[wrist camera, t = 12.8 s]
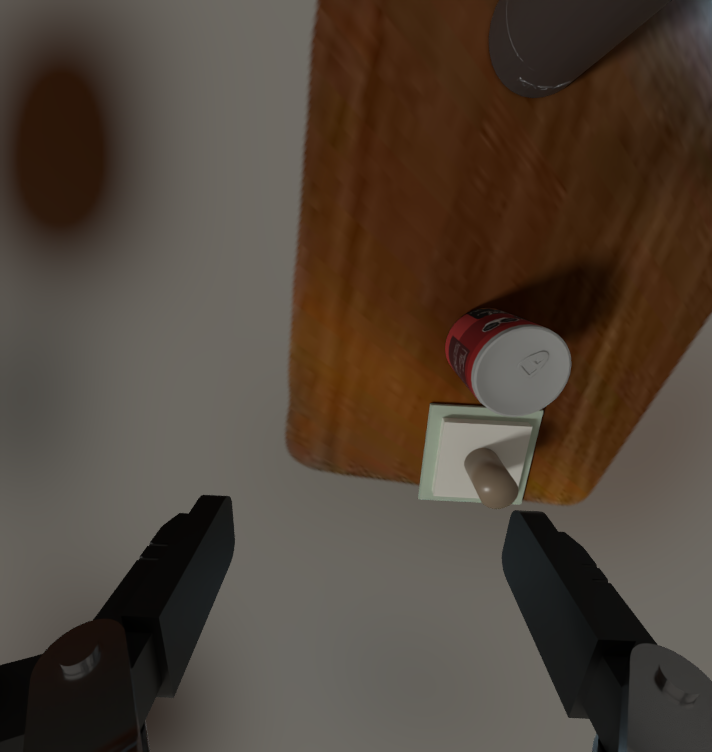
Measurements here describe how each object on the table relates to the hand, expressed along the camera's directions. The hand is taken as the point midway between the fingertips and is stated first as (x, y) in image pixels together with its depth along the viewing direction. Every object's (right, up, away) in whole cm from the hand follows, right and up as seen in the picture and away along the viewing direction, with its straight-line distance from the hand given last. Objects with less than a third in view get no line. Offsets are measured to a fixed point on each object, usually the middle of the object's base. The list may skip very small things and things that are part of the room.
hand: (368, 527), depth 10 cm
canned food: (+13, +8, +29) cm, 33 cm away
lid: (+14, -6, +33) cm, 36 cm away
